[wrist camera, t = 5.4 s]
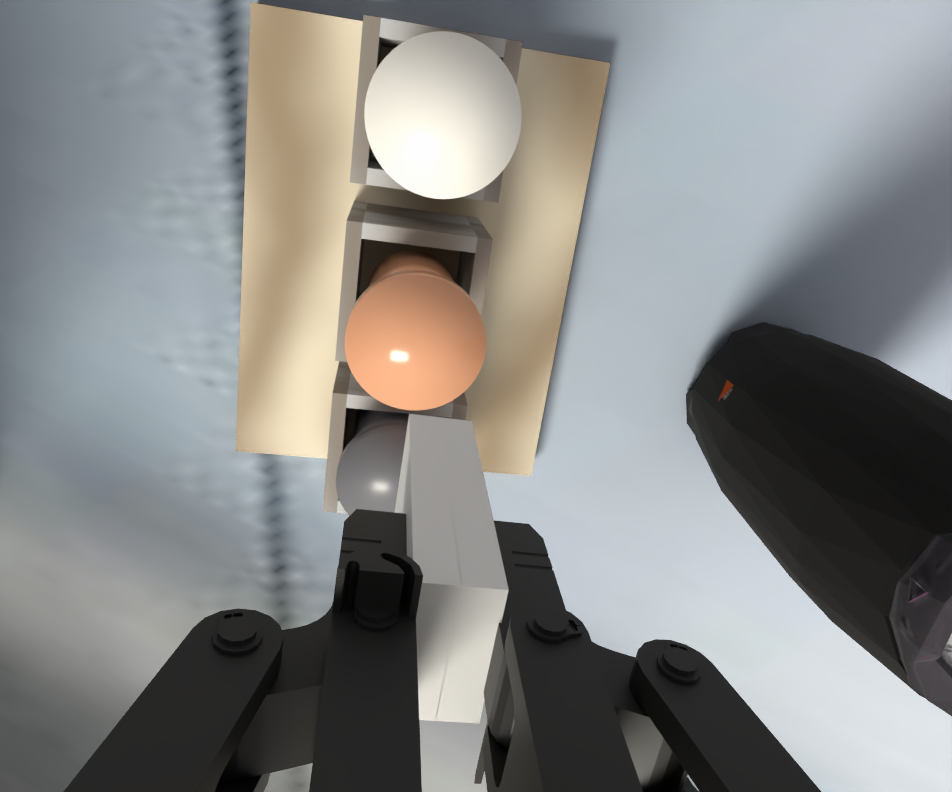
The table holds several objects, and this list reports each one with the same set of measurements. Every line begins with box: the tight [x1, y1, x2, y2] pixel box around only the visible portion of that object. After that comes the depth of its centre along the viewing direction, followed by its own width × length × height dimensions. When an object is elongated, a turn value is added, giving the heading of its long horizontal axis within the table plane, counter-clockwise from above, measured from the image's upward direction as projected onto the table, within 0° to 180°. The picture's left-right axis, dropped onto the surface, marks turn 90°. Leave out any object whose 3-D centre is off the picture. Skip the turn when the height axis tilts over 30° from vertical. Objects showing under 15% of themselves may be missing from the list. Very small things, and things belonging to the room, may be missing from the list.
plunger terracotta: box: [345, 250, 486, 410], centre depth 28 cm, size 5×5×7 cm
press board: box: [236, 2, 610, 514], centre depth 33 cm, size 15×20×7 cm
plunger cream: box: [364, 31, 522, 199], centre depth 25 cm, size 5×5×7 cm
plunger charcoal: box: [336, 409, 429, 516], centre depth 33 cm, size 5×5×7 cm
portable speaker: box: [686, 323, 952, 716], centre depth 31 cm, size 9×9×20 cm
